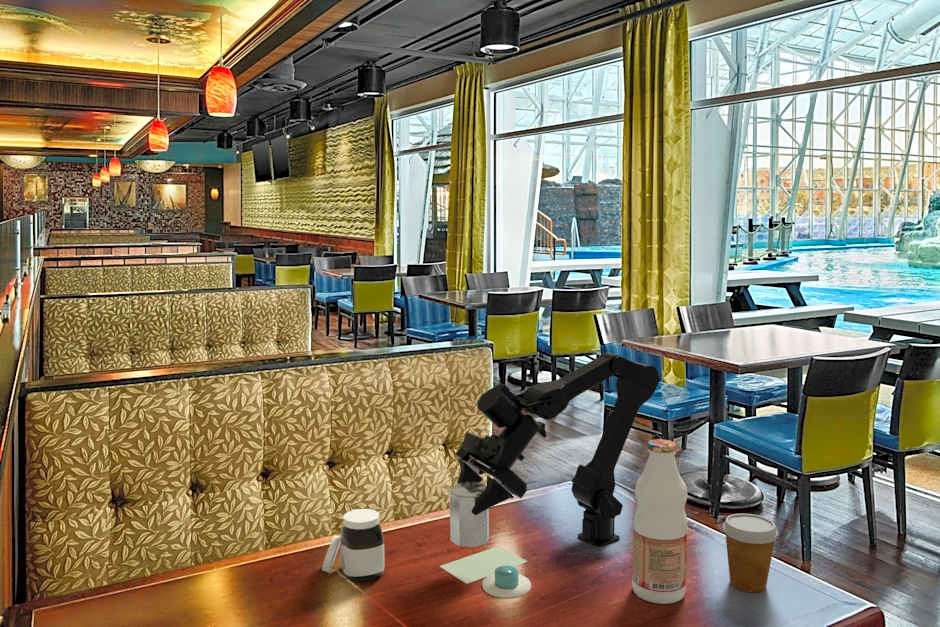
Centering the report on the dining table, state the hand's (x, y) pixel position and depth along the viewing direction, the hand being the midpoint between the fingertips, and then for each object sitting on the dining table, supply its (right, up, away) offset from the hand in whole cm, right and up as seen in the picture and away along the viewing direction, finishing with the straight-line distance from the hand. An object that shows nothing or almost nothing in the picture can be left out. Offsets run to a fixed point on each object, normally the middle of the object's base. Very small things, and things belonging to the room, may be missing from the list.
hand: (463, 506), depth 143 cm
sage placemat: (+4, -13, +5) cm, 14 cm away
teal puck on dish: (+8, -14, -4) cm, 16 cm away
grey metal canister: (+1, -6, +2) cm, 7 cm away
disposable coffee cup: (+53, -14, -3) cm, 55 cm away
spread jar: (-21, -14, +3) cm, 25 cm away
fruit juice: (+36, -14, -6) cm, 39 cm away
